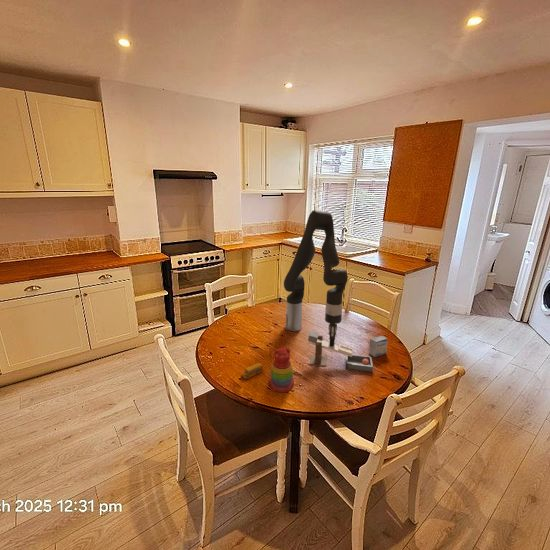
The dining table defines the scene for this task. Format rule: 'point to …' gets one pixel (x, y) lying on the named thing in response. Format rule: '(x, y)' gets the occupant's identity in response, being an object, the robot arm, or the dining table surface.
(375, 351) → the medicine box
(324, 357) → the fulcrum
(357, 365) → the tray
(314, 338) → the tilt lever
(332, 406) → the dining table surface
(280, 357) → the stacking bear
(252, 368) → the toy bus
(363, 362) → the ball
